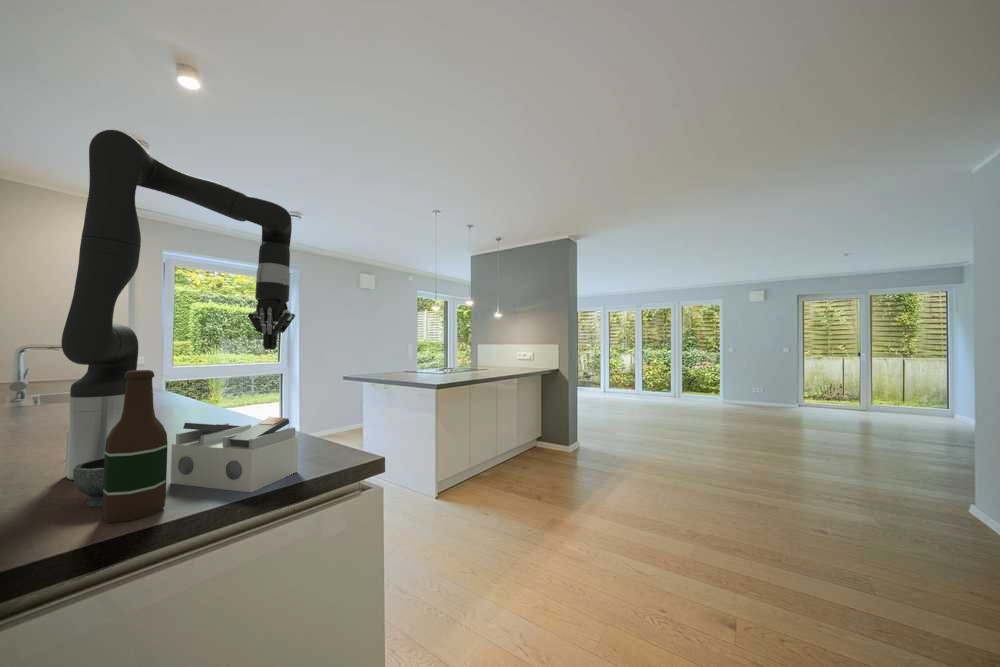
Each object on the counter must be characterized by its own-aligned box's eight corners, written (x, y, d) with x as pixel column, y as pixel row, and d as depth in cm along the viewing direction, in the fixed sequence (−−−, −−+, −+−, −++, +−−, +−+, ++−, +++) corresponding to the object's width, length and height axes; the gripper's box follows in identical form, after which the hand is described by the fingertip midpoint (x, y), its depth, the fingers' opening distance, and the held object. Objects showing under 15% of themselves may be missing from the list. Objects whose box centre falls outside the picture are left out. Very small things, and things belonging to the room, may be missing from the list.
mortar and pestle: (113, 510, 65) (116, 439, 65) (54, 512, 64) (57, 440, 64) (166, 486, 76) (169, 426, 76) (117, 487, 75) (119, 426, 76)
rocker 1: (183, 428, 78) (185, 422, 79) (226, 431, 87) (227, 425, 88) (202, 429, 77) (204, 423, 77) (243, 432, 86) (245, 426, 87)
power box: (168, 484, 77) (170, 434, 77) (225, 465, 89) (226, 422, 89) (249, 493, 72) (250, 440, 73) (297, 472, 84) (298, 427, 85)
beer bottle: (125, 526, 59) (131, 372, 60) (87, 521, 60) (93, 371, 61) (177, 505, 66) (181, 369, 67) (142, 502, 68) (147, 368, 69)
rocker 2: (231, 444, 76) (229, 438, 75) (270, 422, 85) (269, 416, 85) (251, 446, 74) (250, 439, 74) (289, 423, 84) (288, 417, 84)
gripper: (239, 281, 97) (235, 348, 95) (283, 279, 93) (279, 349, 92) (264, 286, 104) (260, 349, 103) (305, 285, 101) (302, 350, 100)
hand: (269, 349), depth 98 cm, fingers closed
